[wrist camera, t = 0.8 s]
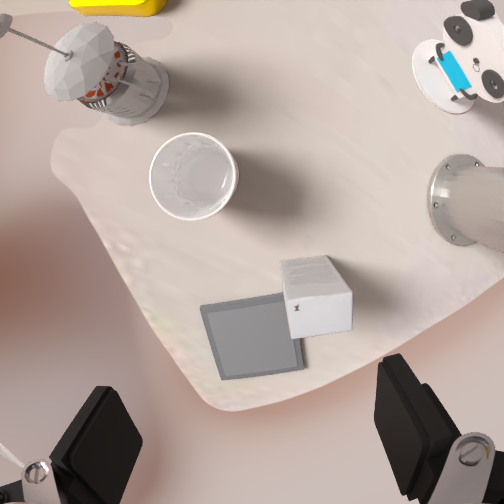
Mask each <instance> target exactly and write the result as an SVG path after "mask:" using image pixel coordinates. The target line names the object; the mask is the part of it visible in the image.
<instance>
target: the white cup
mask: <svg viewBox="0 0 504 504" xmlns="http://www.w3.org/2000/svg"><path fill="white" fill-rule="evenodd" d="M238 180H239V170H238V166H237V163H236V161H235V159H234V157H233V156H232V154H231V153H230V152H229V150H228V149H227V148H226V147H225V146H224V145H223V144H222V143H221V142H220V141H219V140H217V139H216V138H214V137H212V136H210V135H207V134H204V133H198V132H190V133H184V134H180V135H177V136H175V137H173V138H171V139H170V140H168V141H167V142H166V143H165V144H163V145H162V146H161V148H160V149H159V150H158V151H157V153H156V155H155V156H154V158H153V161H152V164H151V167H150V173H149V182H150V188H151V192H152V194H153V197H154V199H155V200H156V202H157V203H158V205H159V206H160V207H161V208H162V209H163V210H164V211H165V212H166V213H168V214H169V215H171V216H173V217H175V218H177V219H181V220H185V221H199V220H203V219H206V218H209V217H211V216H213V215H215V214H216V213H218V212H219V211H220V210H221V209H222V208H223V207H224V206H225V205H226V204H227V203H228V201H229V200H230V198H231V197H232V195H233V194H234V192H235V190H236V188H237V184H238Z"/></svg>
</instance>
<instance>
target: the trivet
mask: <svg viewBox="0 0 504 504" xmlns="http://www.w3.org/2000/svg"><path fill="white" fill-rule="evenodd" d="M200 311H201V315H202V318H203V322H204V325H205V329H206V332H207V335H208V339H209V342H210V345H211V349H212V352H213V355H214V359H215V362H216V365H217V368H218V371H219V374H220V377H221V380H230V379H239V378H248V377H256V376H264V375H271V374H278V373H284V372H290V371H297V370H302V369H304V367H303V360H302V353H301V346H300V339H299V338H298V339H291V335H290V329H289V323H288V317H287V312H286V306H285V300H284V294H283V293H277V294H272V295H266V296H260V297H254V298H248V299H241V300H235V301H229V302H222V303H215V304H209V305H202V306H200Z"/></svg>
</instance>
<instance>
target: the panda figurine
mask: <svg viewBox="0 0 504 504" xmlns="http://www.w3.org/2000/svg"><path fill="white" fill-rule="evenodd" d="M461 10H462V12H463V13H462V14H458V15H455V16H451V17H449V18H447V19H446V20H445V21H444V27H443V38H444V42H443V41H440V40H435V39H431V40H426V41H423V42H422V43H420V44H419V45H418V46H417V47H416V49H415V50H414V53H413V57H412V68H413V73H414V76H415V79H416V81H417V83H418V85H419V87H420V89H421V90H422V92H423V93H424V95H425V96H426V97H427V98H428V99H429V100H430V101H431V102H432V103H433V104H434V105H435V106H436V107H438V108H439V109H441V110H443V111H445V112H448V113H453V114H459V113H463V112H466V111H467V110H469V109H470V108H471V107H472V105H473V104H474V102H475V99H476V97H477V94H478V95H479V96H480V97H482V98H483V99H485V100H487V101H490V102H494V103H499V102H502V101H504V25H503V24H502V23H501V22H500V21H499V20H497V19H496V18H494V17H493V15H494V14H495V10H494V6H493V5H492V3H491V2H489V1H488V0H471V1H466V2H463V3H462V4H461ZM476 93H477V94H476Z"/></svg>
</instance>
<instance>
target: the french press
mask: <svg viewBox="0 0 504 504" xmlns="http://www.w3.org/2000/svg"><path fill="white" fill-rule="evenodd" d="M11 23H12V16H11V15H8V14H0V38H1V37H3V36H4V35H5V34H6V32H7V31H9V32H12V33H14V34H17V35H19V36H21V37H24V38H26V39H28V40H31V41H33V42H35V43H38V44H40V45H42V46H45V47H47V48H49V49H51V50H52V51H51V53H50V55H49V57H48V60H47V63H46V66H45V70H44V85H45V87H46V89H47V91H48V93H49V95H50V96H51V97H53V98H54V99H56V100H57V101H73V100H75V99H78V100H79V101H80V102H81V103H83V104H84V105H86V106H87V107H88V108H91V109H94V110H97V111H102V112H104V113H106V115H107V117H108V118H109V119H110V120H111V121H113V122H115V123H116V124H118V125H123V126H134V125H137V124H140V123H143V122H146V121H147V120H148V119H150V118H151V117H152V116H153V115H155V114H156V113H157V112H158V111H159V109H160V108H161V106H162V105H163V103H164V102H165V100H166V97H167V93H168V89H169V80H168V73H167V71H166V70H165V69H164V67H163V66H162V64H161V63H160V62H158V61H156V60H154V59H152V58H150V57H140V56H139V55H138V54H137V53H136V52H134V51H133V50H132V49H131V48H130V47H128V46H127V45H125V44H122V43H120V42H115V41H114V36H113V34H112V33H111V31H110V30H109V29H108V27H107V26H105V25H102V24H100V23H97V22H93V23H86V24H82V25H80V26H78V27H76V28H74V29H72V30H70V31H69V32H68V33H67V34H66V35H64V36H63V37H62V38H61V39H60V40H59V41H58V42H57V44H56V45H55V47H52V46H50V45H47V44H45V43H43V42H41V41H38V40H37V39H34V38H32V37H30V36H27V35H25V34H23V33H21V32H18V31H16V30H13V29H11V28H10V25H11ZM123 46H125V47H128V48H130V49H128V48H124V47H123ZM126 50H130V51H129V52H127V51H126ZM131 51H133V52H131ZM131 53H133V54H134V55H131V56H128V54H131ZM132 57H135V58H133V59H130V60H128V59H129V58H132ZM101 100H102V101H101ZM98 101H99V103H100V105H101V108H100V107H99V104H98ZM89 103H91V104H92V106H93V107H94V108H92V107H91V106H90V105H89ZM94 103H96V105H97V108H96V107H95V106H94ZM103 110H104V111H103Z"/></svg>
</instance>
